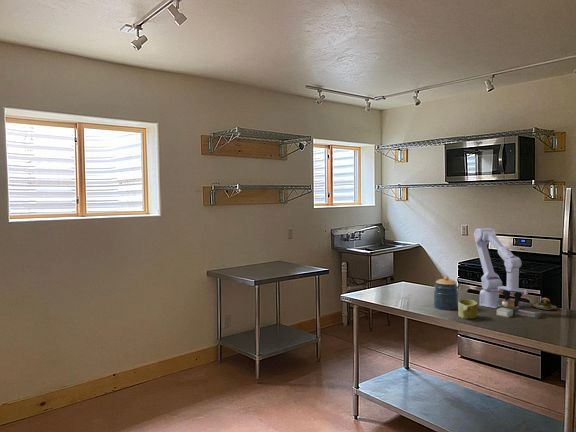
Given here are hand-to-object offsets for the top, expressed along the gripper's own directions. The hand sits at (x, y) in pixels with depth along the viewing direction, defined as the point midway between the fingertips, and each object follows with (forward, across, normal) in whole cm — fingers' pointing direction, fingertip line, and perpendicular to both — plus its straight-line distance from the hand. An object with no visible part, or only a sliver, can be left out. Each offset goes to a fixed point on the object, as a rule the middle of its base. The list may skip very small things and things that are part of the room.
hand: (512, 305), depth 241 cm
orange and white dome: (-1, 0, -8) cm, 8 cm away
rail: (+4, +4, 0) cm, 6 cm away
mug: (+4, -12, -27) cm, 30 cm away
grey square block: (+4, 0, -8) cm, 9 cm away
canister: (+4, -30, -15) cm, 33 cm away
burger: (+4, +8, +22) cm, 24 cm away
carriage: (+4, 0, 0) cm, 4 cm away
